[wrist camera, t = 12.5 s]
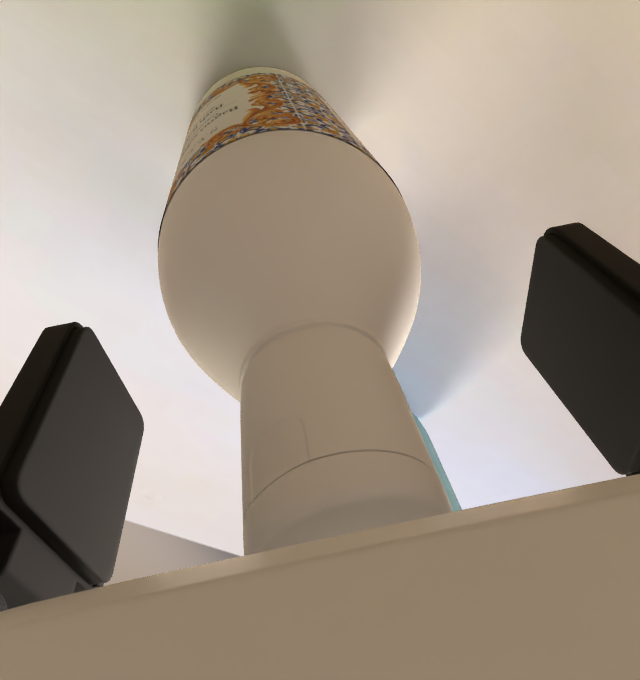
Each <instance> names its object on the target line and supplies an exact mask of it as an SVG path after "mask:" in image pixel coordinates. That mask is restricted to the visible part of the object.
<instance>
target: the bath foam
mask: <svg viewBox="0 0 640 680" xmlns="http://www.w3.org/2000/svg"><path fill="white" fill-rule="evenodd" d="M158 270H159V280H160V286H161V292H162V297H163V301H164V304H165V307H166V311H167V314H168V317H169V319H170V322H171V324H172V326H173V328H174V330H175V332H176V334H177V336H178V338H179V340H180V342H181V343H182V345H183V346H184V348H185V349H186V350H187V352H188V353H189V355H190V356H191V357H192V359H193V360H194V361H195V362H196V364H197V365H198V366H199V367H200V368H201V369H202V370H203V371H204V372H205V373H206V374H207V375H208V376H209V377H210V378H211V379H212V380H213V381H214V382H215V383H217V384H218V385H219V386H220V387H221V388H222V389H224V390H225V391H226V392H227V393H229V394H230V395H231V396H233V397H234V398H235V399H236V400H238V401H239V402H240V403H241V463H242V502H243V540H244V555H250V554H255V553H259V552H264V551H269V550H273V549H278V548H283V547H287V546H292V545H297V544H302V543H306V542H311V541H316V540H321V539H325V538H330V537H335V536H340V535H345V534H349V533H354V532H359V531H364V530H368V529H373V528H378V527H383V526H388V525H392V524H397V523H402V522H407V521H412V520H416V519H421V518H426V517H431V516H436V515H441V514H445V513H450V512H453V511H452V507H451V504H450V502H449V499H448V496H447V494H446V492H445V489H444V487H443V485H442V483H441V480H440V478H439V475H438V473H437V471H436V468H435V466H434V464H433V461H432V459H431V457H430V454H429V452H428V450H427V447H426V445H425V443H424V440H423V438H422V436H421V433H420V431H419V429H418V426H417V424H416V422H415V419H414V417H413V415H412V412H411V410H410V408H409V405H408V403H407V401H406V398H405V396H404V394H403V392H402V389H401V387H400V385H399V383H398V380H397V378H396V376H395V374H394V372H393V370H392V369H393V367H394V365H395V363H396V361H397V359H398V357H399V355H400V353H401V351H402V349H403V347H404V344H405V342H406V340H407V337H408V335H409V333H410V330H411V327H412V324H413V321H414V318H415V315H416V311H417V306H418V301H419V295H420V287H421V260H420V252H419V245H418V240H417V236H416V232H415V229H414V225H413V222H412V219H411V217H410V214H409V212H408V209H407V207H406V205H405V203H404V200H403V198H402V196H401V194H400V192H399V190H398V188H397V186H396V185H395V183H394V182H393V180H392V179H391V177H390V176H389V175H388V174H387V172H386V171H385V170H384V169H383V168H382V166H381V165H380V164H379V163H378V162H377V161H376V159H375V158H374V157H373V156H372V155H371V154H370V152H369V151H368V150H367V149H366V148H365V146H364V145H363V144H362V143H361V142H360V141H359V139H358V138H357V137H356V136H355V135H354V134H353V132H352V131H351V130H350V129H349V128H348V127H347V125H346V124H345V123H344V122H343V121H342V120H341V118H340V117H339V116H338V115H337V114H336V112H335V111H334V110H333V109H332V108H331V107H330V105H329V104H328V103H327V102H326V101H325V100H324V99H323V98H322V97H321V96H320V94H319V93H318V92H317V91H316V90H315V89H314V88H313V87H312V86H310V85H309V84H308V83H307V82H305V81H304V80H302V79H301V78H299V77H297V76H296V75H293V74H291V73H289V72H286V71H284V70H280V69H276V68H270V67H253V68H247V69H243V70H239V71H236V72H234V73H232V74H229V75H228V76H226V77H224V78H222V79H221V80H220V81H218V82H217V83H216V84H215V85H213V86H212V87H211V88H210V89H209V90H208V91H207V93H206V94H205V95H204V96H203V98H202V99H201V101H200V102H199V104H198V106H197V108H196V110H195V112H194V115H193V117H192V120H191V123H190V126H189V129H188V132H187V136H186V139H185V142H184V146H183V149H182V153H181V156H180V160H179V163H178V166H177V170H176V173H175V177H174V180H173V184H172V187H171V190H170V194H169V197H168V201H167V204H166V208H165V211H164V214H163V218H162V222H161V226H160V231H159V238H158Z"/></svg>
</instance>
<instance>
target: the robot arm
mask: <svg viewBox="0 0 640 680" xmlns="http://www.w3.org/2000/svg"><path fill="white" fill-rule="evenodd" d="M521 345H522V349H523V351H524V353H525V355H526V356H527V357H528V358H529V360H530V361H531V362H532V364H533V365H534V366H535V368H536V369H537V370H538V371H539V373H540V374H541V375H542V377H543V378H544V379H545V381H546V382H547V383H548V384H549V386H550V387H551V388H552V390H553V391H554V392H555V394H556V395H557V396H558V398H559V399H560V400H561V401H562V403H563V404H564V405H565V407H566V408H567V409H568V411H569V412H570V413H571V414H572V416H573V417H574V418H575V420H576V421H577V422H578V424H579V425H580V426H581V427H582V429H583V430H584V431H585V433H586V434H587V435H588V437H589V438H590V439H591V440H592V442H593V443H594V444H595V446H596V447H597V448H598V450H599V451H600V452H601V453H602V455H603V456H604V457H605V459H606V460H607V461H608V463H609V464H610V465H611V467H612V468H613V469H614V470H615V471H616V472H618V473H619V474H622V475H624V474H625V475H626V476H627V477H622V478H617V479H612V480H607V481H602V482H597V483H592V484H587V485H582V486H577V487H573V488H568V489H563V490H558V491H553V492H548V493H543V494H538V495H533V496H528V497H523V498H518V499H513V500H509V501H504V502H499V503H494V504H489V505H484V506H479V507H474V508H469V509H465V510H460V511H455V512H450V513H445V514H441V515H436V516H431V517H426V518H421V519H416V520H412V521H407V522H402V523H397V524H392V525H388V526H383V527H378V528H373V529H368V530H364V531H359V532H354V533H349V534H345V535H340V536H335V537H330V538H325V539H321V540H316V541H311V542H306V543H302V544H297V545H292V546H287V547H283V548H278V549H273V550H269V551H264V552H259V553H255V554H250V555H245V556H241V557H236V558H231V559H227V560H222V561H217V562H213V563H208V564H204V565H199V566H194V567H189V568H185V569H180V570H175V571H170V572H166V573H161V574H156V575H152V576H147V577H142V578H138V579H134V580H129V581H125V582H120V583H116V584H112V585H107V586H103V584H104V583H106V582H108V581H109V580H110V579H111V577H112V574H113V571H114V566H115V562H116V557H117V552H118V548H119V543H120V538H121V533H122V529H123V524H124V520H125V515H126V510H127V506H128V501H129V497H130V492H131V487H132V483H133V478H134V473H135V469H136V464H137V459H138V455H139V450H140V445H141V441H142V436H143V431H144V423H143V418H142V416H141V413H140V412H139V410H138V408H137V406H136V405H135V403H134V401H133V400H132V398H131V396H130V394H129V393H128V391H127V389H126V387H125V386H124V384H123V382H122V380H121V379H120V377H119V375H118V373H117V372H116V370H115V368H114V366H113V365H112V363H111V361H110V359H109V358H108V356H107V354H106V353H105V351H104V349H103V347H102V346H101V344H100V342H99V340H98V339H97V337H96V335H95V333H94V332H93V330H92V329H91V328H89V327H83V326H82V325H80V324H79V323H77V322H72V323H67V324H62V325H57V326H52V327H48V328H45V329H44V330H43V332H42V334H41V335H40V337H39V339H38V341H37V342H36V344H35V346H34V348H33V349H32V351H31V353H30V355H29V357H28V358H27V360H26V362H25V364H24V365H23V367H22V369H21V371H20V372H19V374H18V376H17V378H16V379H15V381H14V383H13V385H12V387H11V388H10V390H9V392H8V394H7V395H6V397H5V399H4V401H3V402H2V404H1V406H0V680H640V264H638V263H637V262H636V261H634V260H633V259H631V258H630V257H628V256H627V255H626V254H624V253H623V252H621V251H620V250H619V249H617V248H616V247H614V246H613V245H611V244H610V243H609V242H607V241H606V240H604V239H603V238H601V237H600V236H599V235H597V234H596V233H594V232H593V231H592V230H590V229H589V228H587V227H586V226H584V225H583V224H581V223H579V222H578V223H571V224H566V225H561V226H556V227H551V228H549V229H547V230H546V232H545V233H544V236H542V237H540V238H539V239H538V240H537V243H536V248H535V254H534V260H533V266H532V272H531V278H530V284H529V290H528V296H527V302H526V308H525V315H524V321H523V327H522V333H521Z"/></svg>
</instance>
